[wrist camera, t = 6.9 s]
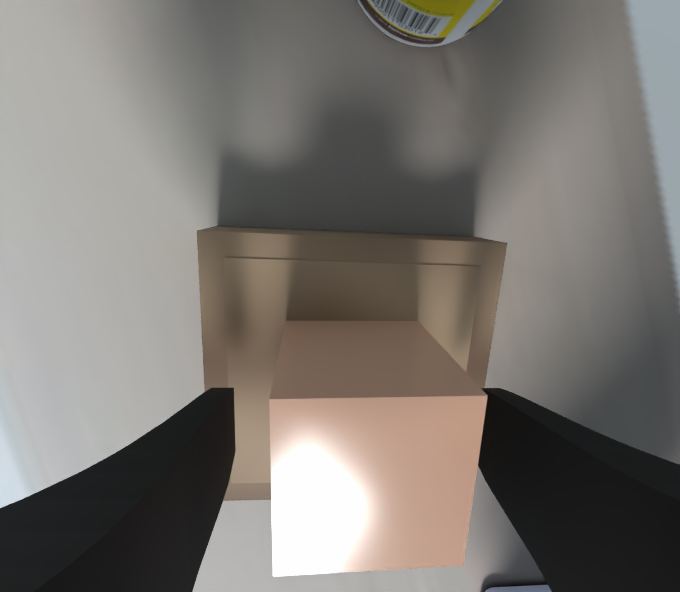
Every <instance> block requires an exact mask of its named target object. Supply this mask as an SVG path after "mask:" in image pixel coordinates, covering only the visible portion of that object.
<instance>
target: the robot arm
mask: <svg viewBox="0 0 680 592" xmlns="http://www.w3.org/2000/svg"><path fill="white" fill-rule="evenodd" d="M481 389H482V390H483V391H484V392H485V393H486V394H487V396H488V397H487V404H486V411H485V418H484V425H483V432H482V439H481V446H480V453H479V460H478V466H479V468H480V470H481V472H482V474H483V476H484V478H485V480H486V482H487V484H488V486H489V487H490V489H491V491H492V492H493V494H494V495H495V497H496V499H497V500H498V502H499V504H500V505H501V507H502V509H503V510H504V512H505V513H506V515H507V517H508V518H509V520H510V521H511V523H512V525H513V526H514V528H515V529H516V531H517V533H518V534H519V536H520V538H521V539H522V541H523V542H524V544H525V546H526V547H527V549H528V550H529V552H530V554H531V555H532V557H533V559H534V560H535V562H536V564H537V566H538V567H539V569H540V571H541V573H542V574H543V576H544V578H545V580H546V582H547V584H548V585H531V586H510V587H492V588H489V589H487V590H486V591H485V592H680V465H679V464H676V463H673V462H670V461H667V460H665V459H662V458H659V457H657V456H654V455H651V454H649V453H646V452H643V451H641V450H638V449H635V448H633V447H630V446H628V445H625V444H623V443H621V442H618V441H616V440H614V439H611V438H609V437H607V436H604V435H602V434H600V433H598V432H595V431H593V430H591V429H589V428H586V427H584V426H582V425H580V424H578V423H576V422H573V421H571V420H569V419H567V418H565V417H563V416H561V415H559V414H557V413H555V412H552V411H550V410H548V409H546V408H544V407H542V406H540V405H538V404H536V403H534V402H532V401H530V400H527V399H525V398H523V397H521V396H519V395H516V394H514V393H512V392H509V391H506V390H504V389H501V388H481ZM235 452H236V447H235V411H234V388H210V389H209V390H207V391H206V392H204V393H203V394H201V395H200V396H199V397H197V398H196V399H195V400H193V401H192V402H191V403H189V404H188V405H187V406H185V407H184V408H183V409H181V410H180V411H178V412H177V413H176V414H174V415H173V416H171V417H170V418H169V419H167V420H166V421H165V422H163V423H162V424H160V425H159V426H157V427H156V428H154V429H153V430H151V431H150V432H148V433H146V434H145V435H143V436H142V437H140V438H139V439H137V440H136V441H134V442H133V443H131V444H130V445H128V446H126V447H125V448H123V449H121V450H120V451H118V452H116V453H115V454H113V455H111V456H109V457H107V458H106V459H104V460H102V461H100V462H98V463H96V464H95V465H93V466H91V467H89V468H87V469H85V470H83V471H81V472H79V473H77V474H75V475H73V476H71V477H69V478H67V479H65V480H63V481H60V482H58V483H56V484H54V485H52V486H50V487H48V488H46V489H43V490H41V491H39V492H37V493H35V494H33V495H31V496H29V497H26V498H24V499H22V500H19V501H17V502H15V503H12V504H10V505H7V506H5V507H2V508H0V592H192V590H193V587H194V584H195V581H196V577H197V574H198V571H199V568H200V565H201V562H202V559H203V557H204V554H205V551H206V548H207V545H208V542H209V539H210V537H211V534H212V531H213V528H214V525H215V522H216V519H217V517H218V514H219V511H220V508H221V505H222V502H223V499H224V496H225V493H226V490H227V487H228V484H229V480H230V475H231V471H232V466H233V461H234V456H235Z"/></svg>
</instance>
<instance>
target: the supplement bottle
mask: <svg viewBox="0 0 680 592" xmlns="http://www.w3.org/2000/svg"><path fill="white" fill-rule="evenodd" d="M357 1H358V3H359V5H360V6H361V8H362V9H363V11H364V13H365V14H366V15H367V17H368V18H369V19H370V20H371V21H372V22H373V24H374V25H375V26H376V27H378V28H379V29H380V30H381V31H382V32H383V33H385V34H386V35H388V36H389V37H391V38H393V39H395V40H397V41H399V42H402V43H404V44H408V45H412V46H418V47H434V46H440V45H445V44H448V43H451V42H453V41H456V40H458V39H460V38H462V37H464V36H465V35H467V34H468V33H470V32H471V31H473V30H474V29H475V28H477V27H478V26H479V25H480V24H481V23H482V22H483V21H484V20H485V19H486V18H487V17H488V16H489V15H490V14H491V13H492V12H493V11H494V10H495V9H496V8H497V7H498V5H499V4H500V3H501V2H502V1H503V0H357Z"/></svg>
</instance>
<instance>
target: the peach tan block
mask: <svg viewBox="0 0 680 592" xmlns="http://www.w3.org/2000/svg"><path fill="white" fill-rule="evenodd" d="M487 397H488V396H487V394H486V393H485V392H484V391H483V390H482V389H481V388H480V387H479V386H478V385H477V384H476V383H475V382H474V380H473V379H472V378H471V377H470V376H469V375H468V374H467V373H466V372H465V371H464V370H463V369H462V368H461V366H460V365H459V364H458V363H457V362H456V361H455V360H454V359H453V358H452V357H451V356H450V355H449V354H448V352H447V351H446V350H445V349H444V348H443V347H442V346H441V345H440V344H439V343H438V342H437V341H436V340H435V338H434V337H433V336H432V335H431V334H430V333H429V332H428V331H427V330H426V329H425V328H424V327H423V326H422V324H421V323H420V322H419V321H286V322H285V327H284V331H283V336H282V341H281V346H280V350H279V355H278V360H277V365H276V369H275V374H274V379H273V384H272V388H271V393H270V398H269V413H270V459H271V504H272V549H273V576H290V575H307V574H324V573H342V572H359V571H377V570H394V569H411V568H429V567H446V566H464V559H465V552H466V545H467V538H468V531H469V524H470V517H471V510H472V503H473V496H474V489H475V482H476V475H477V468H478V460H479V453H480V446H481V439H482V432H483V425H484V418H485V411H486V404H487Z"/></svg>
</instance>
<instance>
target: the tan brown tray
mask: <svg viewBox="0 0 680 592" xmlns="http://www.w3.org/2000/svg"><path fill="white" fill-rule="evenodd" d="M197 243H198V263H199V283H200V303H201V324H202V344H203V364H204V384H205V392H206V391H207V390H209V389H210V388H234V411H235V447H236V452H235V456H234V461H233V466H232V471H231V475H230V480H229V484H228V487H227V490H226V493H225V496H224V499H223V501H230V500H271V459H270V413H269V398H270V393H271V388H272V384H273V379H274V374H275V369H276V365H277V360H278V355H279V350H280V346H281V341H282V336H283V331H284V327H285V322H286V321H419V322H420V323H421V324H422V326H423V327H424V328H425V329H426V330H427V331H428V332H429V333H430V334H431V335H432V336H433V337H434V338H435V340H436V341H437V342H438V343H439V344H440V345H441V346H442V347H443V348H444V349H445V350H446V351H447V352H448V354H449V355H450V356H451V357H452V358H453V359H454V360H455V361H456V362H457V363H458V364H459V365H460V366H461V368H462V369H463V370H464V371H465V372H466V373H467V374H468V375H469V376H470V377H471V378H472V379H473V380H474V382H475V383H476V384H477V385H478V386H479V387H480V388H484V387H485V380H486V374H487V368H488V361H489V355H490V349H491V342H492V336H493V330H494V323H495V317H496V311H497V304H498V298H499V292H500V285H501V279H502V272H503V266H504V260H505V253H506V247H507V243H504V242H499V241H494V240H488V239H483V238H478V237H469V236H445V235H421V234H397V233H373V232H348V231H324V230H300V229H276V228H252V227H227V226H215V227H211V228H207V229H202V230H198V231H197Z"/></svg>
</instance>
